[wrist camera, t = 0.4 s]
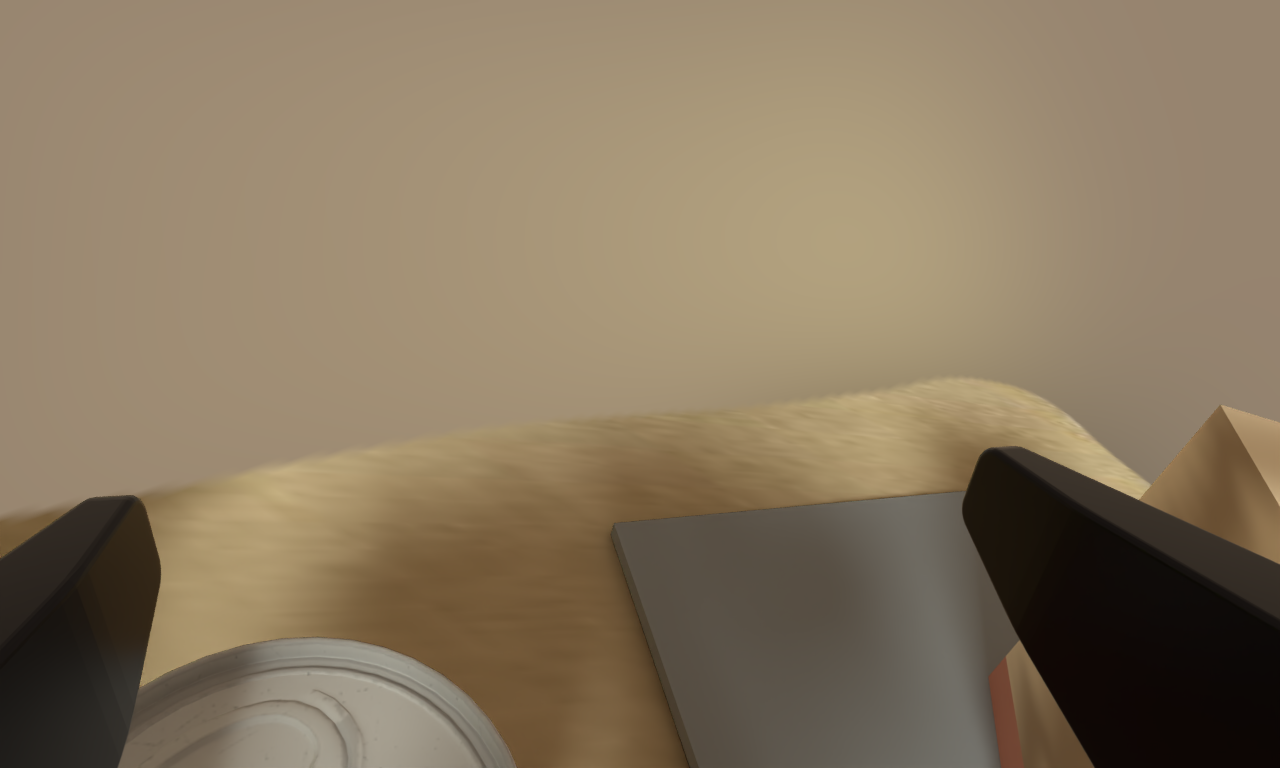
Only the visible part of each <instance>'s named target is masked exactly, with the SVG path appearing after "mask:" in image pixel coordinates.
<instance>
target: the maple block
mask: <svg viewBox="0 0 1280 768" xmlns="http://www.w3.org/2000/svg"><path fill="white" fill-rule="evenodd" d="M1139 500H1140V501H1142V502H1144V503H1146V504H1148V505H1151V506H1153V507H1155V508H1157V509H1159V510H1162V511H1164V512H1166V513H1168V514H1170V515H1173V516H1175V517H1177V518H1179V519H1182V520H1184V521H1186V522H1188V523H1190V524H1193V525H1195V526H1197V527H1199V528H1201V529H1204V530H1206V531H1208V532H1210V533H1212V534H1215V535H1217V536H1219V537H1221V538H1223V539H1226V540H1228V541H1230V542H1232V543H1234V544H1237V545H1239V546H1241V547H1243V548H1245V549H1248V550H1250V551H1252V552H1254V553H1256V554H1259V555H1261V556H1263V557H1265V558H1268V559H1270V560H1272V561H1274V562H1276V563H1279V564H1280V423H1279V422H1276V421H1273V420H1269V419H1266V418H1263V417H1259V416H1256V415H1253V414H1249V413H1246V412H1243V411H1239V410H1236V409H1233V408H1229V407H1226V406H1223V405H1220V406H1219V407H1218V408H1217V409H1216V410H1215V411H1214V413H1213V414H1212V415H1211V416H1210V417H1209V418H1208V420H1207V421H1206V422H1205V423H1204V424H1203V426H1202V427H1201V428H1200V429H1199V430H1198V431H1197V432H1196V434H1195V435H1194V436H1193V437H1192V438H1191V440H1190V441H1189V442H1188V443H1187V444H1186V445H1185V447H1184V448H1183V449H1182V450H1181V452H1180V453H1179V454H1178V455H1177V456H1176V457H1175V458H1174V459H1173V461H1172V462H1171V463H1170V464H1169V465H1168V467H1167V468H1166V469H1165V470H1164V471H1163V472H1162V474H1161V475H1160V476H1159V477H1158V478H1157V479H1156V481H1155V482H1154V483H1153V484H1152V485H1151V486H1150V488H1149V489H1148V490H1147V491H1146V492H1145V493H1144V495H1143V496H1142V497H1141V498H1140V499H1139ZM988 678H989V685H990V692H991V699H992V706H993V713H994V720H995V727H996V734H997V742H998V749H999V756H1000V763H1001V768H1094V767H1093V765H1092V763H1091V762H1090V760H1089V758H1088V756H1087V755H1086V753H1085V751H1084V750H1083V748H1082V746H1081V744H1080V743H1079V741H1078V739H1077V738H1076V736H1075V734H1074V733H1073V731H1072V729H1071V727H1070V726H1069V724H1068V722H1067V721H1066V719H1065V717H1064V715H1063V714H1062V712H1061V710H1060V709H1059V707H1058V705H1057V703H1056V702H1055V700H1054V698H1053V697H1052V695H1051V693H1050V692H1049V690H1048V688H1047V686H1046V685H1045V683H1044V681H1043V680H1042V678H1041V676H1040V674H1039V673H1038V671H1037V669H1036V668H1035V666H1034V664H1033V663H1032V661H1031V659H1030V657H1029V656H1028V654H1027V652H1026V651H1025V649H1024V647H1023V645H1022V643H1021V642H1020V640H1019V641H1018V642H1017V644H1016V645H1015V646H1014V647H1013V648H1012V649H1011V651H1010V652H1009V653H1008V654H1007V655H1006V656H1005V658H1004V659H1003V660H1002V661H1001V662H1000V664H999V665H998V666H997V667H996V668H995V669H994V671H993V672H992V673H991V674H990V675H989V676H988Z"/></svg>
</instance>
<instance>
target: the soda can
mask: <svg viewBox="0 0 1280 768" xmlns="http://www.w3.org/2000/svg"><path fill="white" fill-rule="evenodd" d="M118 768H517V766H516V764H515V762H514V759H513V757H512V755H511V752H510V750H509V748H508V746H507V745H506V743H505V742H504V740H503V739H502V737H501V735H500V734H499V732H498V731H497V729H496V728H495V726H494V724H493V723H492V721H491V720H490V719H489V717H488V716H487V715H486V714H485V713H484V712H483V711H482V710H481V709H480V707H479V706H478V705H477V704H476V703H475V702H474V701H473V700H472V698H471V697H470V696H469V695H468V694H466V693H465V692H464V691H463V690H461V689H460V688H459V687H458V686H456V685H455V684H454V683H453V682H452V681H450V680H449V679H448V678H447V677H445V676H444V675H443V674H441V673H439V672H437V671H436V670H434V669H432V668H430V667H428V666H427V665H425V664H423V663H421V662H420V661H418V660H416V659H414V658H412V657H409V656H407V655H404V654H401V653H399V652H396V651H394V650H391V649H388V648H386V647H383V646H378V645H374V644H369V643H365V642H360V641H356V640H350V639H338V638H326V637H303V638H282V639H276V640H270V641H264V642H258V643H253V644H247V645H242V646H239V647H235V648H232V649H229V650H225V651H222V652H219V653H215V654H212V655H209V656H205V657H203V658H201V659H198V660H196V661H194V662H191V663H189V664H186V665H184V666H182V667H179V668H177V669H175V670H172V671H170V672H168V673H166V674H164V675H162V676H160V677H159V678H157V679H155V680H153V681H151V682H150V683H148V684H146V685H144V686H142V687H141V688H139V689H138V694H137V699H136V704H135V709H134V713H133V717H132V721H131V726H130V730H129V734H128V737H127V741H126V744H125V747H124V750H123V754H122V757H121V760H120V763H119V766H118Z"/></svg>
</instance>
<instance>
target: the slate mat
mask: <svg viewBox="0 0 1280 768" xmlns="http://www.w3.org/2000/svg"><path fill="white" fill-rule="evenodd" d="M965 493H966V491H960V492H949V493H938V494H927V495H916V496H905V497H894V498H883V499H872V500H861V501H850V502H840V503H829V504H818V505H807V506H796V507H785V508H774V509H763V510H752V511H741V512H730V513H719V514H708V515H698V516H687V517H676V518H665V519H654V520H643V521H632V522H621V523H614V525H613V528H612V532H611V537H612V540H613V542H614V545H615V548H616V551H617V554H618V557H619V560H620V563H621V566H622V569H623V572H624V575H625V578H626V581H627V584H628V587H629V590H630V593H631V595H632V598H633V601H634V604H635V607H636V610H637V613H638V616H639V619H640V622H641V625H642V628H643V631H644V634H645V637H646V640H647V643H648V645H649V648H650V651H651V654H652V657H653V660H654V663H655V666H656V669H657V672H658V675H659V678H660V681H661V684H662V687H663V690H664V693H665V695H666V698H667V701H668V704H669V707H670V710H671V713H672V716H673V719H674V722H675V725H676V728H677V731H678V734H679V737H680V740H681V743H682V745H683V748H684V751H685V754H686V757H687V760H688V763H689V766H690V768H1001V763H1000V756H999V749H998V742H997V734H996V727H995V720H994V713H993V706H992V699H991V692H990V685H989V678H988V676H989V675H990V674H991V673H992V672H993V671H994V669H995V668H996V667H997V666H998V665H999V664H1000V662H1001V661H1002V660H1003V659H1004V658H1005V656H1006V655H1007V654H1008V653H1009V652H1010V651H1011V649H1012V648H1013V647H1014V646H1015V645H1016V644H1017V642H1018V641H1019V638H1018V636H1017V634H1016V633H1015V630H1014V628H1013V626H1012V624H1011V622H1010V620H1009V618H1008V616H1007V614H1006V612H1005V610H1004V608H1003V606H1002V603H1001V601H1000V599H999V597H998V595H997V593H996V590H995V588H994V586H993V584H992V582H991V580H990V577H989V575H988V573H987V571H986V569H985V567H984V564H983V562H982V560H981V558H980V556H979V554H978V551H977V549H976V547H975V545H974V543H973V541H972V538H971V536H970V534H969V532H968V530H967V528H966V525H965V523H964V520H963V516H962V502H963V499H964V496H965Z"/></svg>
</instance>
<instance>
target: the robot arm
mask: <svg viewBox="0 0 1280 768" xmlns="http://www.w3.org/2000/svg"><path fill="white" fill-rule="evenodd" d="M962 516H963V520H964V523H965V525H966V528H967V530H968V532H969V534H970V536H971V538H972V541H973V543H974V545H975V547H976V549H977V551H978V554H979V556H980V558H981V560H982V562H983V564H984V567H985V569H986V571H987V573H988V575H989V577H990V580H991V582H992V584H993V586H994V588H995V590H996V593H997V595H998V597H999V599H1000V601H1001V603H1002V606H1003V608H1004V610H1005V612H1006V614H1007V616H1008V618H1009V620H1010V622H1011V624H1012V626H1013V628H1014V630H1015V633H1016V634H1017V636H1018V638H1019V640H1020V642H1021V643H1022V645H1023V647H1024V649H1025V651H1026V652H1027V654H1028V656H1029V657H1030V659H1031V661H1032V663H1033V664H1034V666H1035V668H1036V669H1037V671H1038V673H1039V674H1040V676H1041V678H1042V680H1043V681H1044V683H1045V685H1046V686H1047V688H1048V690H1049V692H1050V693H1051V695H1052V697H1053V698H1054V700H1055V702H1056V703H1057V705H1058V707H1059V709H1060V710H1061V712H1062V714H1063V715H1064V717H1065V719H1066V721H1067V722H1068V724H1069V726H1070V727H1071V729H1072V731H1073V733H1074V734H1075V736H1076V738H1077V739H1078V741H1079V743H1080V744H1081V746H1082V748H1083V750H1084V751H1085V753H1086V755H1087V756H1088V758H1089V760H1090V762H1091V763H1092V765H1093V767H1094V768H1280V564H1279V563H1276V562H1274V561H1272V560H1270V559H1268V558H1265V557H1263V556H1261V555H1259V554H1256V553H1254V552H1252V551H1250V550H1248V549H1245V548H1243V547H1241V546H1239V545H1237V544H1234V543H1232V542H1230V541H1228V540H1226V539H1223V538H1221V537H1219V536H1217V535H1215V534H1212V533H1210V532H1208V531H1206V530H1204V529H1201V528H1199V527H1197V526H1195V525H1193V524H1190V523H1188V522H1186V521H1184V520H1182V519H1179V518H1177V517H1175V516H1173V515H1170V514H1168V513H1166V512H1164V511H1162V510H1159V509H1157V508H1155V507H1153V506H1151V505H1148V504H1146V503H1144V502H1142V501H1140V500H1137V499H1135V498H1133V497H1131V496H1129V495H1126V494H1124V493H1122V492H1120V491H1118V490H1115V489H1113V488H1111V487H1109V486H1107V485H1104V484H1102V483H1100V482H1098V481H1096V480H1093V479H1091V478H1089V477H1087V476H1084V475H1082V474H1080V473H1078V472H1076V471H1073V470H1071V469H1069V468H1067V467H1065V466H1062V465H1060V464H1058V463H1056V462H1054V461H1051V460H1049V459H1047V458H1045V457H1043V456H1040V455H1038V454H1036V453H1034V452H1032V451H1029V450H1027V449H1025V448H1022V447H1017V446H1009V447H992V448H989V449H986V450H985V451H984V452H983V453H982V454H981V455H980V457H979V459H978V461H977V464H976V466H975V469H974V472H973V475H972V477H971V480H970V483H969V485H968V488H967V491H966V493H965V496H964V499H963V502H962ZM160 581H161V565H160V559H159V555H158V551H157V548H156V544H155V541H154V537H153V533H152V530H151V526H150V523H149V519H148V515H147V512H146V509H145V506H144V504H143V503H142V501H141V500H140V499H139V498H137V497H135V496H133V495H126V496H107V497H94V498H89V499H87V500H85V501H83V502H82V503H80V504H79V505H77V506H76V507H74V508H73V509H71V510H70V511H68V512H67V513H66V514H64V515H63V516H61V517H60V518H58V519H57V520H55V521H54V522H52V523H51V524H50V525H48V526H47V527H45V528H44V529H42V530H41V531H39V532H38V533H37V534H35V535H34V536H32V537H31V538H29V539H28V540H26V541H25V542H24V543H22V544H21V545H19V546H18V547H16V548H15V549H13V550H12V551H10V552H9V553H8V554H6V555H5V556H3V557H2V558H0V768H118V766H119V763H120V760H121V757H122V754H123V750H124V747H125V744H126V741H127V737H128V734H129V730H130V726H131V721H132V717H133V713H134V709H135V704H136V699H137V694H138V689H139V684H140V680H141V675H142V670H143V665H144V660H145V655H146V651H147V646H148V641H149V636H150V631H151V626H152V622H153V617H154V612H155V607H156V602H157V597H158V593H159V588H160Z"/></svg>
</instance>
